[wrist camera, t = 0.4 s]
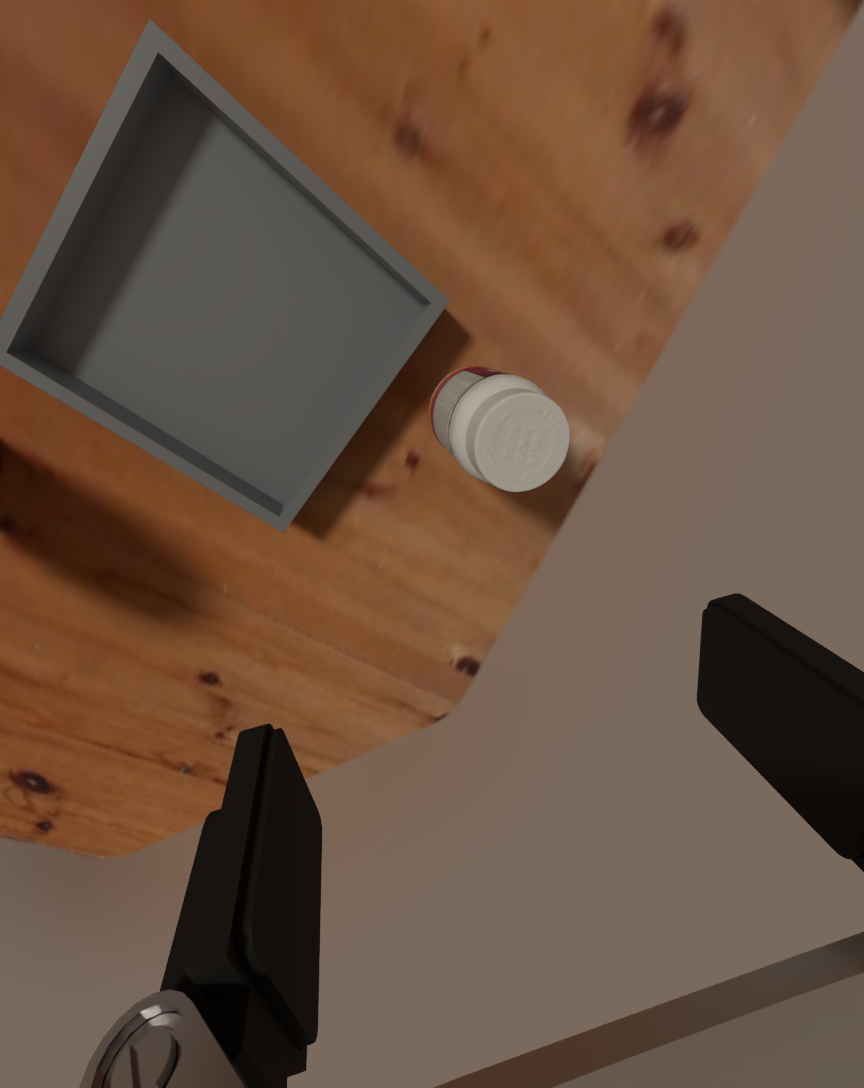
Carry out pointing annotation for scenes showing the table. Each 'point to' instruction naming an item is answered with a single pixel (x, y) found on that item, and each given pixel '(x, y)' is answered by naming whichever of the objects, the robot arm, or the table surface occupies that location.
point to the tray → (212, 293)
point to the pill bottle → (499, 427)
